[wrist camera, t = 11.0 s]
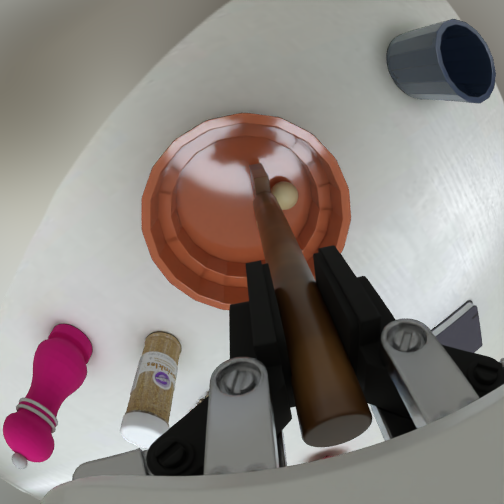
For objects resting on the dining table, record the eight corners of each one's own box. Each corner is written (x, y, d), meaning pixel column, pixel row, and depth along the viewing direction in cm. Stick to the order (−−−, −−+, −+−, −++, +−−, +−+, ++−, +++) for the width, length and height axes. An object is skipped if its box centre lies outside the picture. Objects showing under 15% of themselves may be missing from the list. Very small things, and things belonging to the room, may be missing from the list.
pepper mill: (41, 330, 32) (-20, 446, 14) (68, 312, 31) (-2, 446, 13) (76, 365, 35) (32, 482, 17) (106, 351, 34) (61, 487, 16)
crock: (379, 31, 20) (426, 12, 13) (435, 37, 20) (486, 28, 13) (392, 99, 23) (443, 100, 16) (446, 100, 23) (499, 105, 16)
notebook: (381, 408, 44) (478, 340, 40) (384, 414, 43) (482, 345, 38) (355, 380, 39) (471, 297, 35) (358, 388, 38) (476, 303, 33)
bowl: (140, 138, 24) (116, 146, 18) (315, 101, 23) (338, 99, 18) (185, 287, 30) (177, 324, 25) (333, 258, 30) (353, 290, 25)
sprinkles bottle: (186, 338, 34) (173, 438, 21) (175, 361, 35) (161, 455, 23) (149, 325, 32) (122, 422, 20) (141, 349, 34) (116, 441, 22)
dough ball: (267, 183, 26) (266, 184, 24) (294, 178, 26) (296, 179, 23) (272, 209, 27) (272, 214, 24) (299, 205, 26) (301, 209, 24)
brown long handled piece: (245, 165, 23) (298, 397, 5) (265, 162, 23) (385, 374, 5) (252, 207, 25) (304, 467, 6) (271, 204, 25) (363, 452, 6)
